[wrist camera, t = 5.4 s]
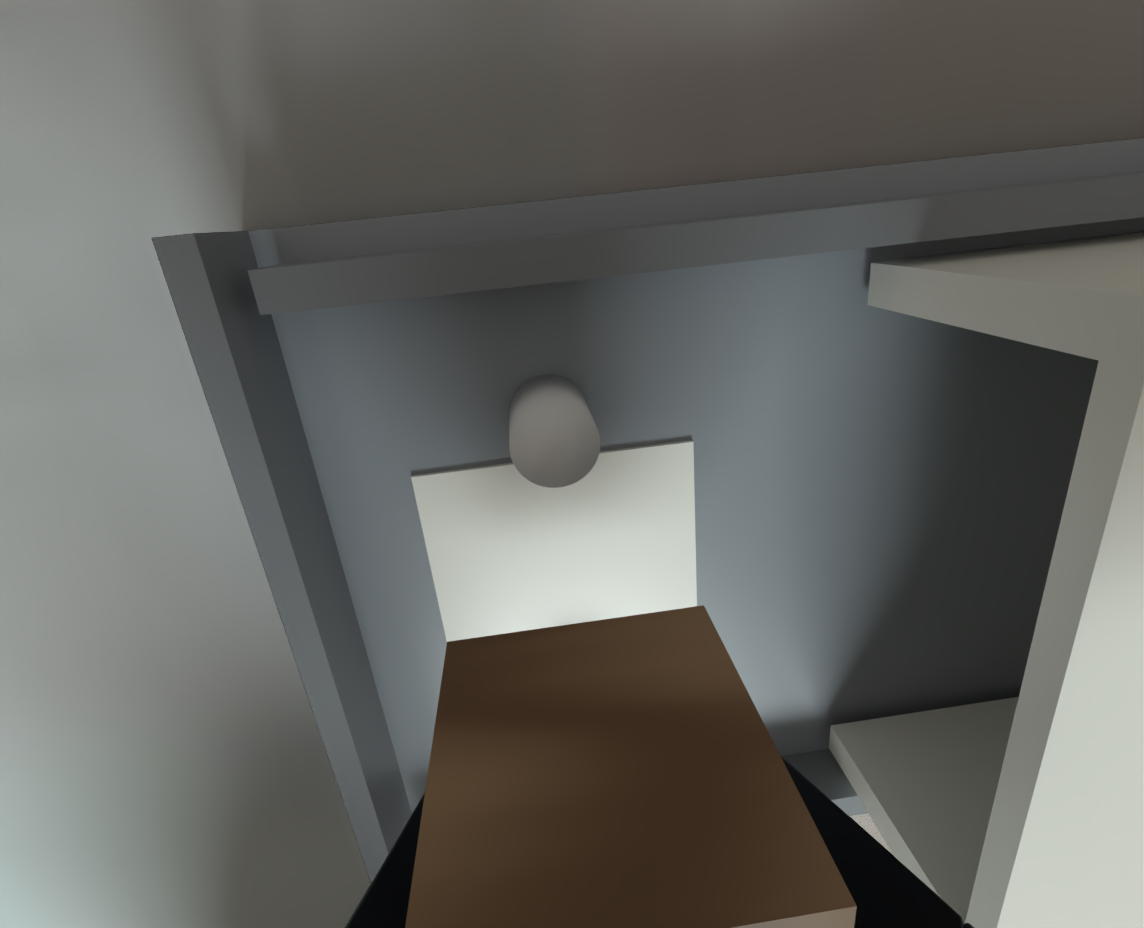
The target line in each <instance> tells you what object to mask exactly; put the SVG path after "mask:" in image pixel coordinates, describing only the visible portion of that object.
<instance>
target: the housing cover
mask: <svg viewBox="0 0 1144 928" xmlns="http://www.w3.org/2000/svg"><path fill="white" fill-rule="evenodd" d="M867 305H869V306H873V307H878V308H882V309H886V310H890V311H894V312H898V313H903V314H907V315H911V316H915V317H919V318H923V319H928V320H932V321H936V322H940V323H944V324H948V325H952V326H957V327H961V328H965V329H969V330H973V331H977V332H982V333H986V334H990V335H994V336H998V337H1002V338H1007V339H1011V340H1015V341H1019V342H1023V343H1027V344H1032V345H1036V346H1040V347H1044V348H1048V349H1052V350H1057V351H1061V352H1065V353H1069V354H1073V355H1077V356H1082V357H1086V358H1090V359H1094V360H1098V366H1097V370H1096V374H1095V378H1094V383H1093V387H1092V391H1091V395H1090V399H1089V404H1088V408H1087V412H1086V416H1085V420H1084V425H1083V429H1082V433H1081V437H1080V441H1079V446H1078V450H1077V454H1076V458H1075V462H1074V467H1073V471H1072V475H1071V479H1070V483H1069V488H1068V492H1067V496H1066V500H1065V504H1064V509H1063V513H1062V517H1061V521H1060V526H1059V530H1058V534H1057V538H1056V542H1055V547H1054V551H1053V555H1052V559H1051V563H1050V568H1049V572H1048V576H1047V580H1046V584H1045V589H1044V593H1043V597H1042V601H1041V605H1040V610H1039V614H1038V618H1037V622H1036V626H1035V631H1034V635H1033V639H1032V643H1031V647H1030V652H1029V656H1028V660H1027V664H1026V669H1025V673H1024V677H1023V681H1022V685H1021V690H1020V694H1019V697H1014V698H1007V699H1001V700H994V701H987V702H981V703H974V704H968V705H961V706H955V707H948V708H942V709H935V710H929V711H922V712H915V713H909V714H902V715H896V716H889V717H883V718H876V719H870V720H863V721H857V722H850V723H843V724H837V725H831V728H830V739H829V749H830V751H831V752H832V754H833V755H834V757H835V759H836V760H837V762H838V764H839V765H840V767H841V769H842V770H843V772H844V774H845V775H846V777H847V779H848V780H849V782H850V784H851V785H852V787H853V789H854V790H855V792H856V794H857V795H858V797H859V799H860V800H861V802H862V803H863V805H864V807H865V808H866V810H867V812H868V813H869V815H870V817H871V818H872V820H873V822H874V823H875V825H876V827H877V828H878V830H879V832H880V833H881V835H882V837H883V838H884V840H885V842H886V843H887V845H888V846H889V848H890V850H891V851H892V853H893V855H894V856H895V858H897V859H898V860H899V861H900V862H901V863H902V864H903V865H904V866H906V867H907V868H908V869H909V870H910V871H911V872H912V873H913V874H914V875H916V876H917V877H918V878H919V879H920V880H921V881H922V882H923V883H925V884H926V885H927V886H928V887H929V888H930V889H931V890H932V891H934V892H935V893H936V894H937V895H938V896H939V897H940V898H941V899H943V900H944V901H945V902H946V903H947V904H948V905H949V906H950V907H952V908H953V909H954V910H955V911H956V912H957V913H958V914H959V915H960V916H962V918H963V920H964V924H965V923H970V924H971V925H972V926H973V927H974V928H1144V232H1140V233H1131V234H1122V235H1113V236H1104V237H1095V238H1086V239H1077V240H1069V241H1060V242H1051V243H1042V244H1033V245H1024V246H1015V247H1006V248H997V249H988V250H980V251H971V252H962V253H953V254H944V255H935V256H926V257H917V258H908V259H899V260H891V261H882V262H873V263H871V268H870V280H869V291H868V303H867Z"/></svg>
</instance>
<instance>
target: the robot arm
mask: <svg viewBox="0 0 1144 928" xmlns="http://www.w3.org/2000/svg"><path fill="white" fill-rule="evenodd" d="M780 756H781V755H780ZM781 758H782V760H783V762H784V764H785V766H786V768H787V770H788V772H789V774H790V776H791V778H792V780H793V782H794V784H795V786H796V788H797V790H798V792H799V793H800V795H801V797H802V799H803V801H804V803H805V805H806V807H807V809H808V811H809V813H810V815H811V817H812V819H813V821H814V823H815V825H816V827H817V829H818V831H819V833H820V835H821V837H822V839H823V841H824V843H825V845H826V847H827V849H828V851H829V853H830V855H831V856H832V858H833V860H834V862H835V864H836V866H837V868H838V870H839V872H840V874H841V876H842V878H843V880H844V882H845V884H846V886H847V888H848V890H849V892H850V894H851V896H852V898H853V900H854V902H855V904H856V906H857V909H856V917H855V925H854V928H974V927H973V926H972V925H971V924H970V923H965V924H964V920H963V918H962V916H960V915H959V914H958V913H957V912H956V911H955V910H954V909H953V908H952V907H950V906H949V905H948V904H947V903H946V902H945V901H944V900H943V899H941V898H940V897H939V896H938V895H937V894H936V893H935V892H934V891H932V890H931V889H930V888H929V887H928V886H927V885H926V884H925V883H923V882H922V881H921V880H920V879H919V878H918V877H917V876H916V875H914V874H913V873H912V872H911V871H910V870H909V869H908V868H907V867H906V866H904V865H903V864H902V863H901V862H900V861H899V860H898V859H897V858H895V857H894V856H893V855H892V854H891V853H890V852H889V851H888V850H886V849H885V848H884V847H883V846H882V845H881V844H880V843H879V842H877V841H876V840H875V839H874V838H873V837H872V836H871V835H870V834H868V833H867V832H866V831H865V830H864V829H863V828H862V827H861V826H859V825H858V824H857V823H856V822H855V821H854V820H853V819H852V818H851V817H849V816H848V815H847V814H846V813H845V812H844V811H843V810H842V809H840V808H839V807H838V806H837V805H836V804H835V803H834V802H833V801H831V800H830V799H829V798H828V797H827V796H826V795H825V794H824V793H822V792H821V791H820V790H819V789H818V788H817V787H816V786H815V785H813V784H812V783H811V782H810V781H809V780H808V779H807V778H806V777H804V776H803V775H802V774H801V773H800V772H799V771H798V770H797V769H796V768H794V767H793V766H792V765H791V764H790V763H789V762H788V761H787V760H785V759H784V758H783V757H782V756H781ZM424 796H425V793H424V794H423V796H422V798H421V799H420V801H419V803H418V804H417V806H416V808H415V810H414V811H413V813H412V815H411V816H410V818H409V820H408V821H407V823H406V825H405V827H404V828H403V830H402V832H401V833H400V835H399V837H398V838H397V840H396V842H395V844H394V845H393V847H392V849H391V850H390V852H389V854H388V855H387V857H386V859H385V861H384V862H383V864H382V866H381V867H380V869H379V871H378V872H377V874H376V876H375V878H374V879H373V881H372V883H371V884H370V886H369V888H368V889H367V891H366V893H365V895H364V896H363V898H362V900H361V901H360V903H359V905H358V906H357V908H356V910H355V912H354V913H353V915H352V917H351V918H350V920H349V922H348V923H347V925H346V927H345V928H405V925H406V918H407V912H408V905H409V898H410V891H411V884H412V877H413V871H414V864H415V857H416V850H417V843H418V837H419V830H420V823H421V816H422V809H423V802H424Z"/></svg>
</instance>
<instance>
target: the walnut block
mask: <svg viewBox="0 0 1144 928" xmlns="http://www.w3.org/2000/svg"><path fill="white" fill-rule="evenodd" d="M856 909H857V906H856V904H855V902H854V900H853V898H852V896H851V894H850V892H849V890H848V888H847V886H846V884H845V882H844V880H843V878H842V876H841V874H840V872H839V870H838V868H837V866H836V864H835V862H834V860H833V858H832V856H831V855H830V853H829V851H828V849H827V847H826V845H825V843H824V841H823V839H822V837H821V835H820V833H819V831H818V829H817V827H816V825H815V823H814V821H813V819H812V817H811V815H810V813H809V811H808V809H807V807H806V805H805V803H804V801H803V799H802V797H801V795H800V793H799V792H798V790H797V788H796V786H795V784H794V782H793V780H792V778H791V776H790V774H789V772H788V770H787V768H786V766H785V764H784V762H783V760H782V758H781V756H780V754H779V752H778V750H777V748H776V746H775V744H774V742H773V740H772V738H771V736H770V734H769V732H768V731H767V729H766V727H765V725H764V723H763V721H762V719H761V717H760V715H759V713H758V711H757V709H756V707H755V705H754V703H753V701H752V699H751V697H750V695H749V693H748V691H747V689H746V687H745V685H744V683H743V681H742V679H741V677H740V675H739V673H738V671H737V670H736V668H735V666H734V664H733V662H732V660H731V658H730V656H729V654H728V652H727V650H726V648H725V646H724V644H723V642H722V640H721V638H720V636H719V634H718V632H717V630H716V628H715V626H714V624H713V622H712V620H711V618H710V616H709V614H708V612H707V610H706V609H705V607H704V605H702V606H695V607H688V608H681V609H674V610H667V611H660V612H653V613H646V614H639V615H632V616H625V617H618V618H611V619H604V620H597V621H590V622H583V623H576V624H569V625H562V626H555V627H547V628H540V629H533V630H526V631H519V632H512V633H505V634H498V635H491V636H484V637H477V638H470V639H463V640H456V641H449V642H447V646H446V652H445V659H444V666H443V673H442V680H441V687H440V693H439V700H438V707H437V714H436V721H435V727H434V734H433V741H432V748H431V755H430V762H429V768H428V775H427V782H426V789H425V796H424V802H423V809H422V816H421V823H420V830H419V837H418V843H417V850H416V857H415V864H414V871H413V877H412V884H411V891H410V898H409V905H408V912H407V918H406V925H405V928H854V925H855V917H856Z"/></svg>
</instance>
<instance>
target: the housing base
mask: <svg viewBox="0 0 1144 928" xmlns="http://www.w3.org/2000/svg"><path fill="white" fill-rule="evenodd" d="M1140 232H1144V138H1138V139H1128V140H1119V141H1109V142H1099V143H1090V144H1080V145H1071V146H1061V147H1051V148H1042V149H1032V150H1022V151H1013V152H1003V153H994V154H984V155H974V156H965V157H955V158H945V159H936V160H926V161H917V162H907V163H897V164H888V165H878V166H868V167H859V168H849V169H840V170H830V171H820V172H811V173H801V174H791V175H782V176H772V177H763V178H753V179H743V180H734V181H724V182H714V183H705V184H695V185H686V186H676V187H666V188H657V189H647V190H637V191H628V192H618V193H609V194H599V195H589V196H580V197H570V198H560V199H551V200H541V201H532V202H522V203H512V204H503V205H493V206H483V207H474V208H464V209H455V210H445V211H435V212H426V213H416V214H406V215H397V216H387V217H378V218H368V219H358V220H349V221H339V222H329V223H320V224H310V225H301V226H291V227H281V228H272V229H262V230H252V231H236V232H214V233H193V234H183V235H174V236H164V237H155V238H152V241H153V244H154V247H155V250H156V253H157V256H158V258H159V261H160V264H161V267H162V270H163V273H164V276H165V279H166V282H167V285H168V288H169V291H170V294H171V297H172V300H173V303H174V306H175V309H176V311H177V314H178V317H179V320H180V323H181V326H182V329H183V332H184V335H185V338H186V341H187V344H188V347H189V350H190V353H191V356H192V359H193V361H194V364H195V367H196V370H197V373H198V376H199V379H200V382H201V385H202V388H203V391H204V394H205V397H206V400H207V403H208V406H209V409H210V411H211V414H212V417H213V420H214V423H215V426H216V429H217V432H218V435H219V438H220V441H221V444H222V447H223V450H224V453H225V456H226V459H227V461H228V464H229V467H230V470H231V473H232V476H233V479H234V482H235V485H236V488H237V491H238V494H239V497H240V500H241V503H242V506H243V509H244V511H245V514H246V517H247V520H248V523H249V526H250V529H251V532H252V535H253V538H254V541H255V544H256V547H257V550H258V553H259V556H260V559H261V562H262V564H263V567H264V570H265V573H266V576H267V579H268V582H269V585H270V588H271V591H272V594H273V597H274V600H275V603H276V606H277V609H278V612H279V614H280V617H281V620H282V623H283V626H284V629H285V632H286V635H287V638H288V641H289V644H290V647H291V650H292V653H293V656H294V659H295V662H296V664H297V667H298V670H299V673H300V676H301V679H302V682H303V685H304V688H305V691H306V694H307V697H308V700H309V703H310V706H311V709H312V712H313V714H314V717H315V720H316V723H317V726H318V729H319V732H320V735H321V738H322V741H323V744H324V747H325V750H326V753H327V756H328V759H329V762H330V764H331V767H332V770H333V773H334V776H335V779H336V782H337V785H338V788H339V791H340V794H341V797H342V800H343V803H344V806H345V809H346V812H347V815H348V817H349V820H350V823H351V826H352V829H353V832H354V835H355V838H356V841H357V844H358V847H359V850H360V853H361V856H362V859H363V862H364V865H365V867H366V870H367V873H368V876H369V879H370V882H371V883H372V881H373V879H374V878H375V876H376V874H377V872H378V871H379V869H380V867H381V866H382V864H383V862H384V861H385V859H386V857H387V855H388V854H389V852H390V850H391V849H392V847H393V845H394V844H395V842H396V840H397V838H398V837H399V835H400V833H401V832H402V830H403V828H404V827H405V825H406V823H407V821H408V820H409V818H410V816H411V815H412V813H413V811H414V810H415V808H416V806H417V804H418V803H419V801H420V799H421V798H422V796H423V794H424V793H425V789H426V782H427V775H428V768H429V762H430V755H431V748H432V741H433V734H434V727H435V721H436V714H437V707H438V700H439V693H440V687H441V680H442V673H443V666H444V659H445V652H446V646H447V642H449V641H456V640H463V639H470V638H477V637H484V636H491V635H498V634H505V633H512V632H519V631H526V630H533V629H540V628H547V627H555V626H562V625H569V624H576V623H583V622H590V621H597V620H604V619H611V618H618V617H625V616H632V615H639V614H646V613H653V612H660V611H667V610H674V609H681V608H688V607H695V606H702V605H704V607H705V609H706V610H707V612H708V614H709V616H710V618H711V620H712V622H713V624H714V626H715V628H716V630H717V632H718V634H719V636H720V638H721V640H722V642H723V644H724V646H725V648H726V650H727V652H728V654H729V656H730V658H731V660H732V662H733V664H734V666H735V668H736V670H737V671H738V673H739V675H740V677H741V679H742V681H743V683H744V685H745V687H746V689H747V691H748V693H749V695H750V697H751V699H752V701H753V703H754V705H755V707H756V709H757V711H758V713H759V715H760V717H761V719H762V721H763V723H764V725H765V727H766V729H767V731H768V732H769V734H770V736H771V738H772V740H773V742H774V744H775V746H776V748H777V750H778V752H779V754H780V755H781V756H782V757H783V758H784V759H785V760H787V761H788V762H789V763H790V764H791V765H792V766H793V767H794V768H796V769H797V770H798V771H799V772H800V773H801V774H802V775H803V776H804V777H806V778H807V779H808V780H809V781H810V782H811V783H812V784H813V785H815V786H816V787H817V788H818V789H819V790H820V791H821V792H822V793H824V794H825V795H826V796H827V797H828V798H829V799H830V800H831V801H833V802H834V803H835V804H836V805H837V806H838V807H839V808H840V809H842V810H843V811H844V812H845V813H846V814H847V815H848V816H852V815H858V814H864V813H868V812H867V810H866V808H865V807H864V805H863V803H862V802H861V800H860V799H859V797H858V795H857V794H856V792H855V790H854V789H853V787H852V785H851V784H850V782H849V780H848V779H847V777H846V775H845V774H844V772H843V770H842V769H841V767H840V765H839V764H838V762H837V760H836V759H835V757H834V755H833V754H832V752H831V751H830V749H829V739H830V728H831V725H837V724H843V723H850V722H857V721H863V720H870V719H876V718H883V717H889V716H896V715H902V714H909V713H915V712H922V711H929V710H935V709H942V708H948V707H955V706H961V705H968V704H974V703H981V702H987V701H994V700H1001V699H1007V698H1014V697H1019V694H1020V690H1021V685H1022V681H1023V677H1024V673H1025V669H1026V664H1027V660H1028V656H1029V652H1030V647H1031V643H1032V639H1033V635H1034V631H1035V626H1036V622H1037V618H1038V614H1039V610H1040V605H1041V601H1042V597H1043V593H1044V589H1045V584H1046V580H1047V576H1048V572H1049V568H1050V563H1051V559H1052V555H1053V551H1054V547H1055V542H1056V538H1057V534H1058V530H1059V526H1060V521H1061V517H1062V513H1063V509H1064V504H1065V500H1066V496H1067V492H1068V488H1069V483H1070V479H1071V475H1072V471H1073V467H1074V462H1075V458H1076V454H1077V450H1078V446H1079V441H1080V437H1081V433H1082V429H1083V425H1084V420H1085V416H1086V412H1087V408H1088V404H1089V399H1090V395H1091V391H1092V387H1093V383H1094V378H1095V374H1096V370H1097V366H1098V360H1094V359H1090V358H1086V357H1082V356H1077V355H1073V354H1069V353H1065V352H1061V351H1057V350H1052V349H1048V348H1044V347H1040V346H1036V345H1032V344H1027V343H1023V342H1019V341H1015V340H1011V339H1007V338H1002V337H998V336H994V335H990V334H986V333H982V332H977V331H973V330H969V329H965V328H961V327H957V326H952V325H948V324H944V323H940V322H936V321H932V320H928V319H923V318H919V317H915V316H911V315H907V314H903V313H898V312H894V311H890V310H886V309H882V308H878V307H873V306H869V305H867V303H868V291H869V280H870V268H871V263H873V262H882V261H891V260H899V259H908V258H917V257H926V256H935V255H944V254H953V253H962V252H971V251H980V250H988V249H997V248H1006V247H1015V246H1024V245H1033V244H1042V243H1051V242H1060V241H1069V240H1077V239H1086V238H1095V237H1104V236H1113V235H1122V234H1131V233H1140Z"/></svg>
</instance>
